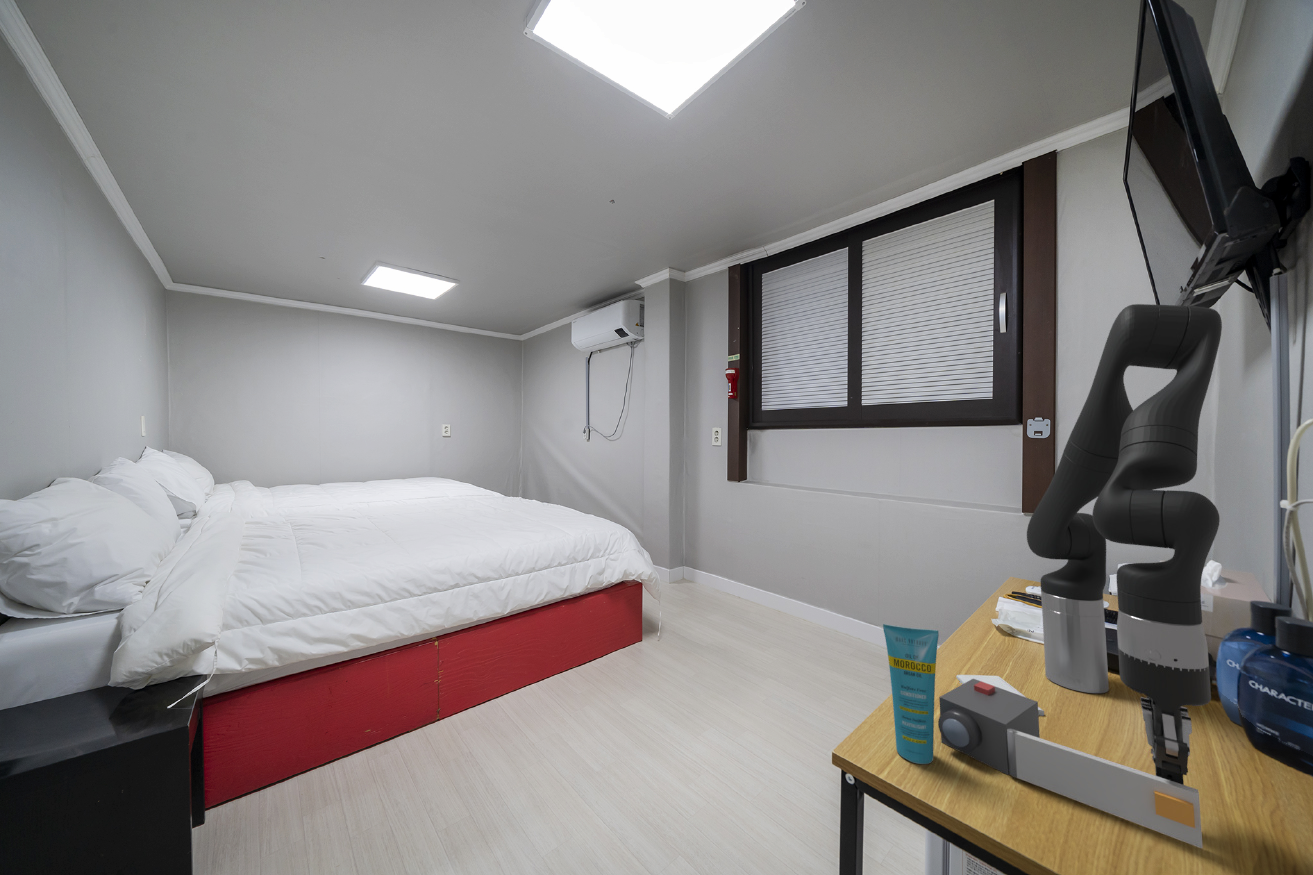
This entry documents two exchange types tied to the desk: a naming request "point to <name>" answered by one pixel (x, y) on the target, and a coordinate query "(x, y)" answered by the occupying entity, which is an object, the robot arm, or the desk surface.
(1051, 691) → the desk surface
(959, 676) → the external hard drive
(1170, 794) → the door
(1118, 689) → the desk surface
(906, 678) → the tube
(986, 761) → the camera body
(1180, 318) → the robot arm
